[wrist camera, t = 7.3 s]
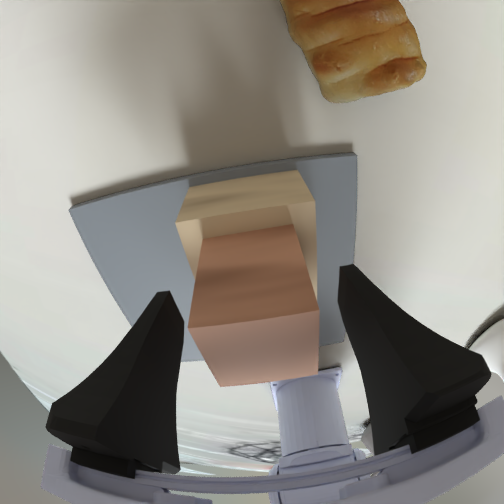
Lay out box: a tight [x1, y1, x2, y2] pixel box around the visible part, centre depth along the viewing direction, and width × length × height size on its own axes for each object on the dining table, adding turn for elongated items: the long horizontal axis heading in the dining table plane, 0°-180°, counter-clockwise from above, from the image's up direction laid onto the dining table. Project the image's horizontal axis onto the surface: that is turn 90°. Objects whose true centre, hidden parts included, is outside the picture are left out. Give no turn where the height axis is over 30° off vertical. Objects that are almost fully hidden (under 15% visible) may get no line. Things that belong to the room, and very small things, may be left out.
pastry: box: [280, 0, 427, 103], centre depth 9 cm, size 9×7×4 cm
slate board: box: [69, 153, 357, 362], centre depth 20 cm, size 17×18×1 cm
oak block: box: [175, 170, 317, 299], centre depth 15 cm, size 6×6×4 cm
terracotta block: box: [188, 224, 320, 387], centre depth 11 cm, size 4×4×5 cm
